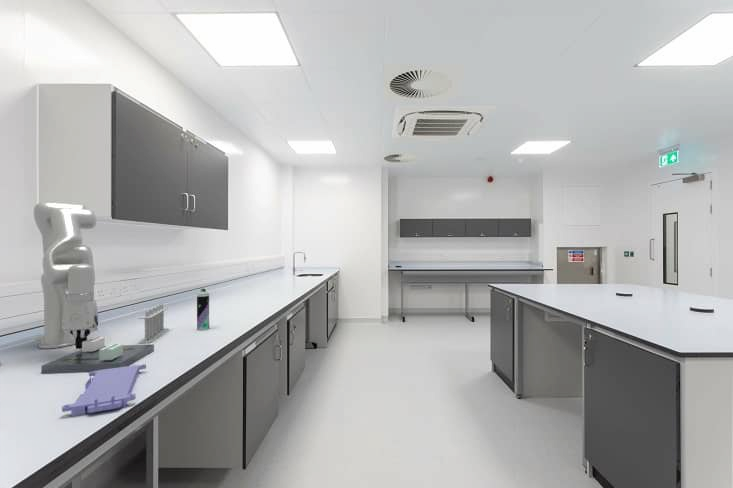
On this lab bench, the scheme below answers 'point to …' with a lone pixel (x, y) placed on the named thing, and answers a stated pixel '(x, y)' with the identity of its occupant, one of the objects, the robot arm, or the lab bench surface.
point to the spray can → (203, 310)
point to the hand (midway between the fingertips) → (81, 347)
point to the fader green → (111, 352)
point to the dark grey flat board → (96, 360)
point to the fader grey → (93, 344)
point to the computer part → (106, 390)
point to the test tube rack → (153, 324)
